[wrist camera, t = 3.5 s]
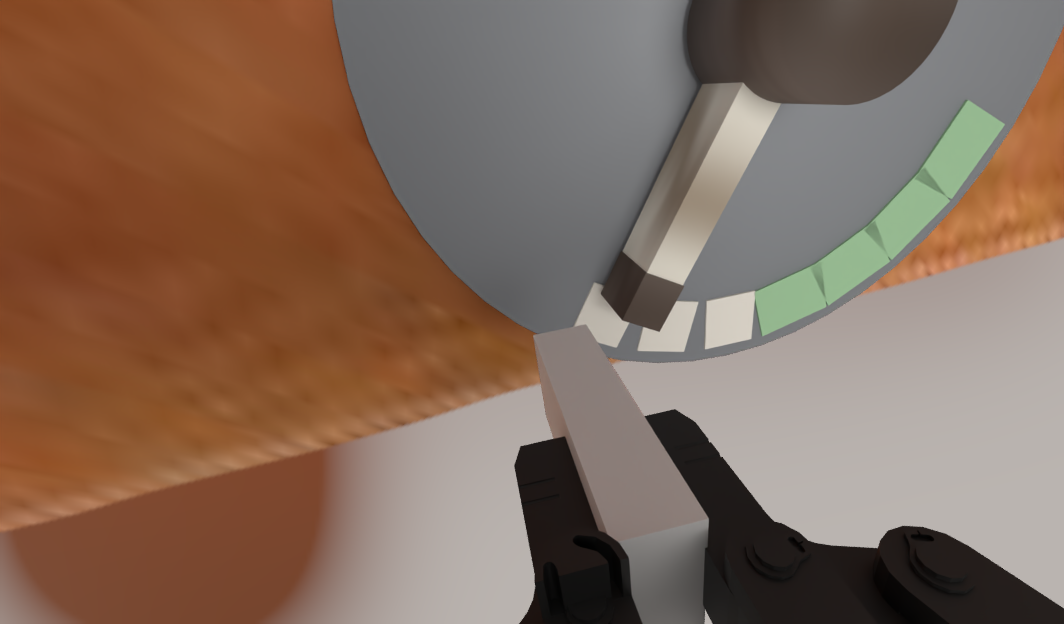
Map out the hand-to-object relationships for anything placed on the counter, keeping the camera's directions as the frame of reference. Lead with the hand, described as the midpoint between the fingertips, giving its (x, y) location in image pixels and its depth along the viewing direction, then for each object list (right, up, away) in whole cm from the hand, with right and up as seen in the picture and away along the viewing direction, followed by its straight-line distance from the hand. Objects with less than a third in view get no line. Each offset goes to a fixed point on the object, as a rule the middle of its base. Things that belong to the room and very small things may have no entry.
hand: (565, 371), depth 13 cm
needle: (+5, +8, +4) cm, 11 cm away
